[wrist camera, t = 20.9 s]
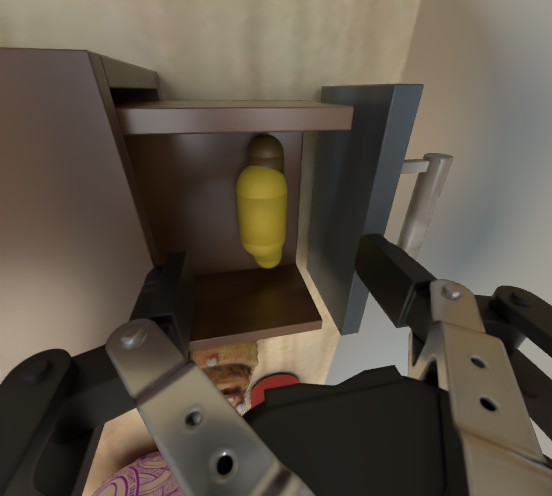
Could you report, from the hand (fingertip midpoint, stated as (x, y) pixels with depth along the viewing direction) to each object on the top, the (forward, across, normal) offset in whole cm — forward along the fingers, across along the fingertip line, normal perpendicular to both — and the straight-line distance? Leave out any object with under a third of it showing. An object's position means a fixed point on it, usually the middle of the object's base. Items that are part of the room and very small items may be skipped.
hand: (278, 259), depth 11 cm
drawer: (+8, -1, 0) cm, 8 cm away
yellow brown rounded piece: (+6, +1, 0) cm, 6 cm away
